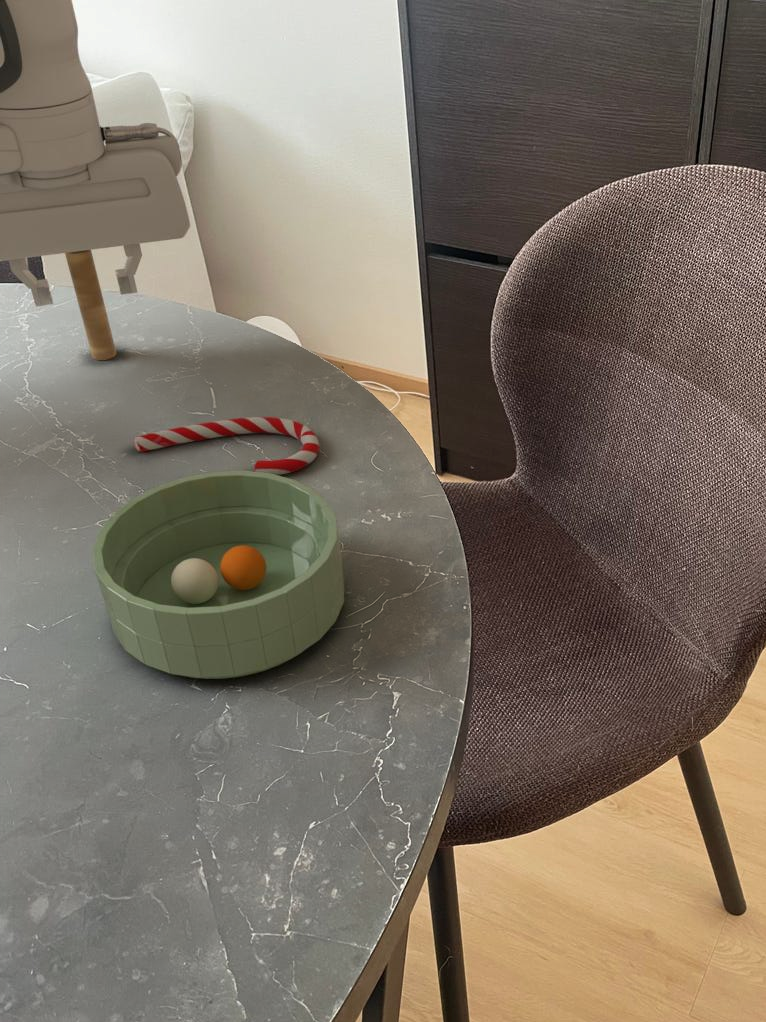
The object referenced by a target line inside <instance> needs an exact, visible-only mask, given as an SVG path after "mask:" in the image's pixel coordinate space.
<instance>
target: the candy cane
mask: <svg viewBox="0 0 766 1022" xmlns="http://www.w3.org/2000/svg"><path fill="white" fill-rule="evenodd" d="M245 434H278V435H284V436H289V437H292V438H295V439H296V440H298V441H299V442H300V443H301V445H302V448H301V449H300V450H299V451H298V452H296V453H294V454H292V455H291V456H288V457H284V458H281V459H273V460H272V459H271V460H262V459H261V460H257V461H256V462H255V464H254V466H253V467H254V472H262V473H270V474H274V475H278V476H281V475H286V474H290V473H293V472H297V471H299V470H301V469H303V468H305V467H306V466H308V465H309V464H311V463H312V462H313V461H314V460H315V459H316V458H317V456H318V454H319V450H320V442H319V439H318V437H317V435H316V434H315V432H314V431H313V430H312V429H311V428H310V427H308V426H307V425H305V424H303V423H300V422H299V421H295V420H293V419H288V418H282V417H273V416H253V417H251V416H250V417H240V418H239V417H238V418H229V419H221V420H215V421H208V422H202V423H196V424H190V425H185V426H180V427H179V426H178V427H174V428H169V429H164V430H160V431H159V430H158V431H154V432H150V433H145V434H142V435H139V436H136V437H135V438H134V439H133V444H134V447H135V450H136V451H137V452H147V451H152V450H158V449H161V448H166V447H171V446H176V445H181V444H187V443H191V442H197V441H202V440H209V439H215V438H221V437H223V438H224V437H228V436H236V435H245Z"/></svg>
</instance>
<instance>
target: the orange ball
mask: <svg viewBox="0 0 766 1022" xmlns="http://www.w3.org/2000/svg"><path fill="white" fill-rule="evenodd" d="M220 569H221V574H222V577H223V579H224V580H225V582H226V583H227V584H228V585H230V586H231V587H233V588H235V589H238V590H250V589H253V588H255V587H257V586H258V585H259V584H260V583H261V582H262V581H263V579H264V577H265V574H266V562H265V559H264V557H263V556H262V554H261V553H260V552H259V551H258V550H256V549H255V548H253V547H250V546H244V545H242V546H236V547H233V548H232V549H230V550H229V551H228V552H226V554H225V555H224V556H223V558H222V561H221V566H220Z"/></svg>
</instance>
